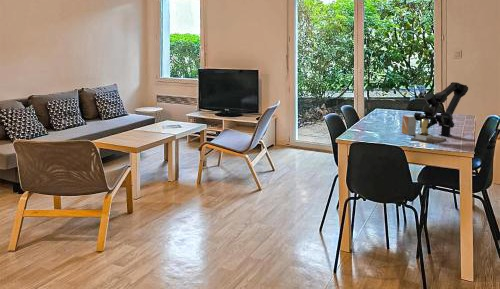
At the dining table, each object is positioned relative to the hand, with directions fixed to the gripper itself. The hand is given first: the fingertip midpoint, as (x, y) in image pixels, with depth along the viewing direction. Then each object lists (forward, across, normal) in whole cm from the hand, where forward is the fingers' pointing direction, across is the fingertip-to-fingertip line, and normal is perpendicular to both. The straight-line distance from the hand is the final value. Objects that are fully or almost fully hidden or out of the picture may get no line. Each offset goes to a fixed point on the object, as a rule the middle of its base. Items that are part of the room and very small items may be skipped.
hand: (423, 128), depth 295 cm
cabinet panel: (+2, +1, +10) cm, 10 cm away
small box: (-5, -19, +18) cm, 26 cm away
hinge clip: (+4, 0, +6) cm, 8 cm away
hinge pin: (+4, 0, +6) cm, 7 cm away
